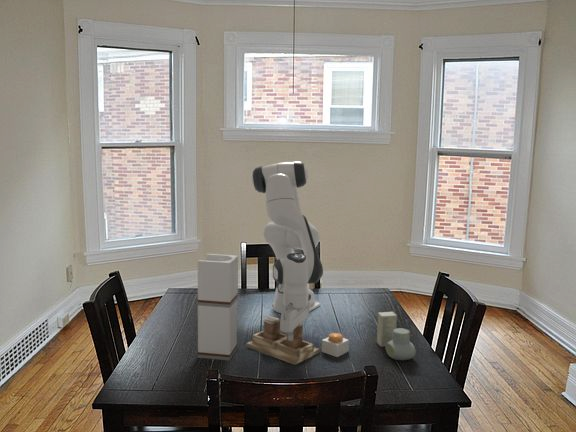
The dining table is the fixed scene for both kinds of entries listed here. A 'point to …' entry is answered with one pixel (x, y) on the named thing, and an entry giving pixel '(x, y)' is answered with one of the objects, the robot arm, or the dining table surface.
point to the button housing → (335, 347)
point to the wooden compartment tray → (280, 344)
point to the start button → (335, 337)
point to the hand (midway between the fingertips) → (294, 336)
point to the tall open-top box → (217, 306)
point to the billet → (296, 337)
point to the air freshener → (400, 345)
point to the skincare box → (385, 327)
